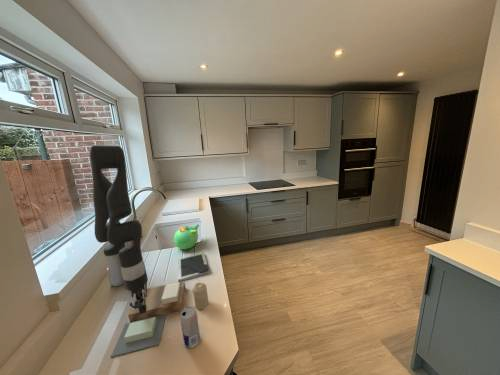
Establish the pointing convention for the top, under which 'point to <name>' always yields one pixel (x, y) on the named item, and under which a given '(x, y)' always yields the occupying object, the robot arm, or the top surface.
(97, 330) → the top surface
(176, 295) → the cream block
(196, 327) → the energy drink
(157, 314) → the thick wooden panel
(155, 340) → the mat
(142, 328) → the sage green block
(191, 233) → the toy bird
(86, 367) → the top surface
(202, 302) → the candle
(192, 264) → the picture frame
